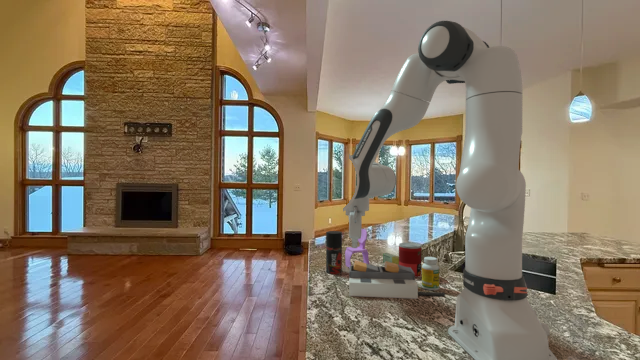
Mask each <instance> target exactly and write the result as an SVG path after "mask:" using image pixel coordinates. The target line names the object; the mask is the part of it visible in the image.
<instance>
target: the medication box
mask: <svg viewBox="0 0 640 360" xmlns="http://www.w3.org/2000/svg"><path fill="white" fill-rule="evenodd" d="M386 261H387V262H391V263H394V264H398V265H399V255H394V254H392V253H389V252H384V253H382V263H384V262H386Z"/></svg>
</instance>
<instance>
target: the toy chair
mask: <svg viewBox="0 0 640 360" xmlns="http://www.w3.org/2000/svg"><path fill="white" fill-rule="evenodd" d="M367 239H368V232H367V230H366V229H365V228H361V238H360V239H358V243H359V246H358V247H357V248H352V246H350V247H349V246H347V247H345V248H346V250H345V252H344V257H345V258H344V259H345V261H344V262H345V267H347V268H348V267H349V268H350V266H352V264H351V260H352V256H353V254H357V253H361V255H362V259H363V263H366V264H370V260H369V256H370V255H369V252H368V249H366V241H367ZM370 265H371V264H370ZM349 268H348V269H349Z"/></svg>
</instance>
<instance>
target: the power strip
mask: <svg viewBox="0 0 640 360" xmlns="http://www.w3.org/2000/svg"><path fill="white" fill-rule="evenodd" d="M377 267H378V270H379V272H365V271H357V270H354V265H351V266H350V268H348V269H349V271H348V273H349V274H348V277H349V279H348V287H349V288H348V296H349V297H368V298H370V297H371V298H391V299H392V298H395V299H413V300H414V299H416V300H417V299H419V297H418V296H432V297H444V296H445V295H446V294H445V292H440V291H439V292H438V291H437V292H435V291H419V290H418V289H419V287H418V286H419V285H418V282H417V281H416V280H415V279H416V277H415V273H414V272H413V270H412V269H411V267H408V268H409V269H410V271H411V273H397V272H389V271H386V270H385V267H384V266H379V265H378V266H377Z"/></svg>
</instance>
